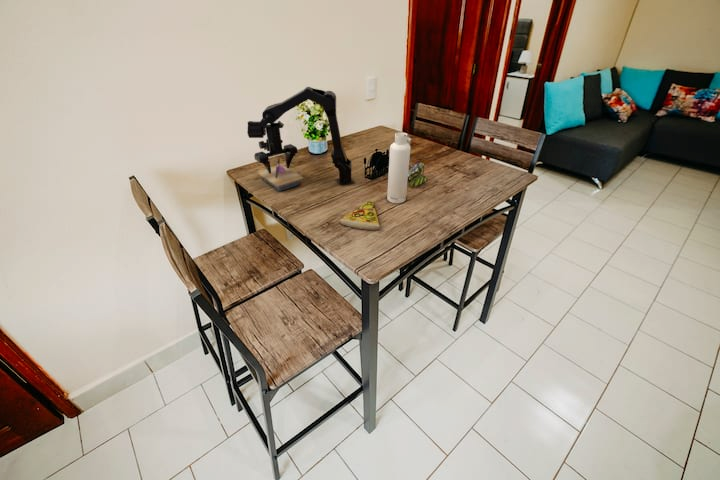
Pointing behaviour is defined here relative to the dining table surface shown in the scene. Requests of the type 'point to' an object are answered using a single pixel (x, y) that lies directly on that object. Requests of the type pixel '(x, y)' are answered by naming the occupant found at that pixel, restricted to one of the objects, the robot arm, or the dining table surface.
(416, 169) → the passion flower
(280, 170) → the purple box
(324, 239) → the dining table surface
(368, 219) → the pizza slice
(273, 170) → the board
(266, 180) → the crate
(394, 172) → the bottle
